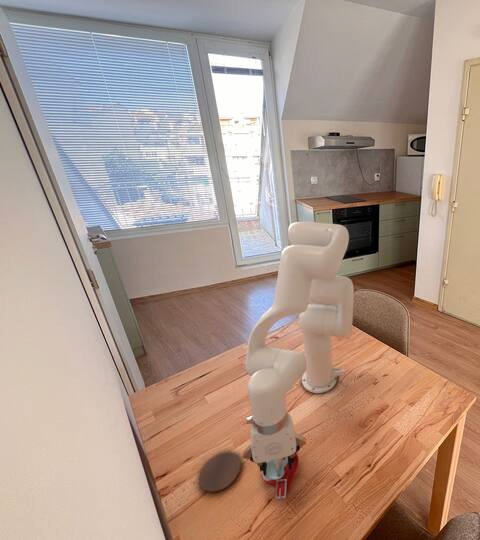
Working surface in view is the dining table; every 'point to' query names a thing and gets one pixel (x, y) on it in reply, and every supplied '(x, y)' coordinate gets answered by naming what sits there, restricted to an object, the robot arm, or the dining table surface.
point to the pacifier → (275, 469)
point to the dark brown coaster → (220, 472)
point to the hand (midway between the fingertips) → (277, 466)
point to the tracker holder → (285, 479)
